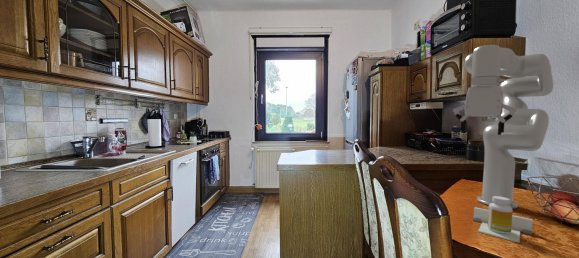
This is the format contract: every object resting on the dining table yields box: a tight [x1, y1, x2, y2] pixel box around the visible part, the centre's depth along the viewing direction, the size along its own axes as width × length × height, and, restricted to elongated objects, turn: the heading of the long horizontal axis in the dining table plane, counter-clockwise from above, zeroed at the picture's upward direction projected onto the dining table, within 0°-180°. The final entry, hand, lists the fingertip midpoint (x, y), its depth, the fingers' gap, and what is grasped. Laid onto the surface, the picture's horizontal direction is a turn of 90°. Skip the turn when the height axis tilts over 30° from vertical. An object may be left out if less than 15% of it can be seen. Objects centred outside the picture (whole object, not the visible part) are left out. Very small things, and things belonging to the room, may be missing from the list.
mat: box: [477, 222, 521, 244], centre depth 75 cm, size 9×9×1 cm
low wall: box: [472, 207, 534, 235], centre depth 80 cm, size 3×14×4 cm, turn 47°
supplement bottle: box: [488, 196, 513, 234], centre depth 75 cm, size 5×5×10 cm
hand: (481, 133), depth 88 cm, fingers open, 9 cm apart
